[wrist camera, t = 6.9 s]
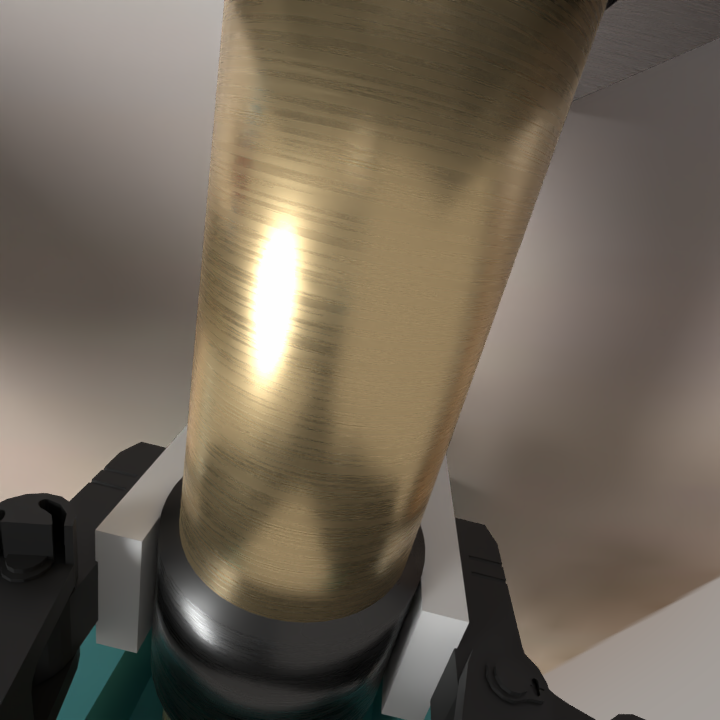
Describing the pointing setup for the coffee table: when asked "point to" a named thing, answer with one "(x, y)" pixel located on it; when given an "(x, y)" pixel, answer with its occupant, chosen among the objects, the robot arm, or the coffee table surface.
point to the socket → (131, 686)
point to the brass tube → (343, 328)
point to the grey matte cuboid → (645, 37)
